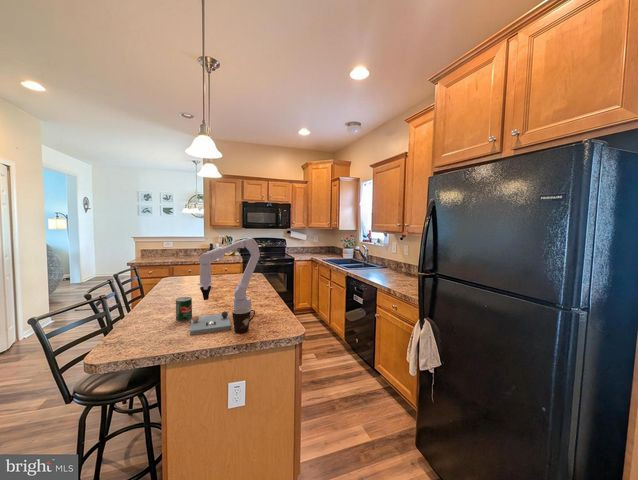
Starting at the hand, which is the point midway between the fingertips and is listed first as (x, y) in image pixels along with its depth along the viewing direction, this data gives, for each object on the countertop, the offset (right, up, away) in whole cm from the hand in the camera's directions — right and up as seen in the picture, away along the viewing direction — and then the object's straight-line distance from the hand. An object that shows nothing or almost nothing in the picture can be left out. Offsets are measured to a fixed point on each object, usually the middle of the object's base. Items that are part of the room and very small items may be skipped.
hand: (205, 299), depth 147 cm
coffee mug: (+26, -11, -17) cm, 33 cm away
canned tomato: (-11, -10, -2) cm, 15 cm away
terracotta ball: (0, -7, -12) cm, 14 cm away
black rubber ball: (+12, -7, -5) cm, 15 cm away
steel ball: (+9, -9, -15) cm, 19 cm away
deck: (+7, -11, -11) cm, 16 cm away
